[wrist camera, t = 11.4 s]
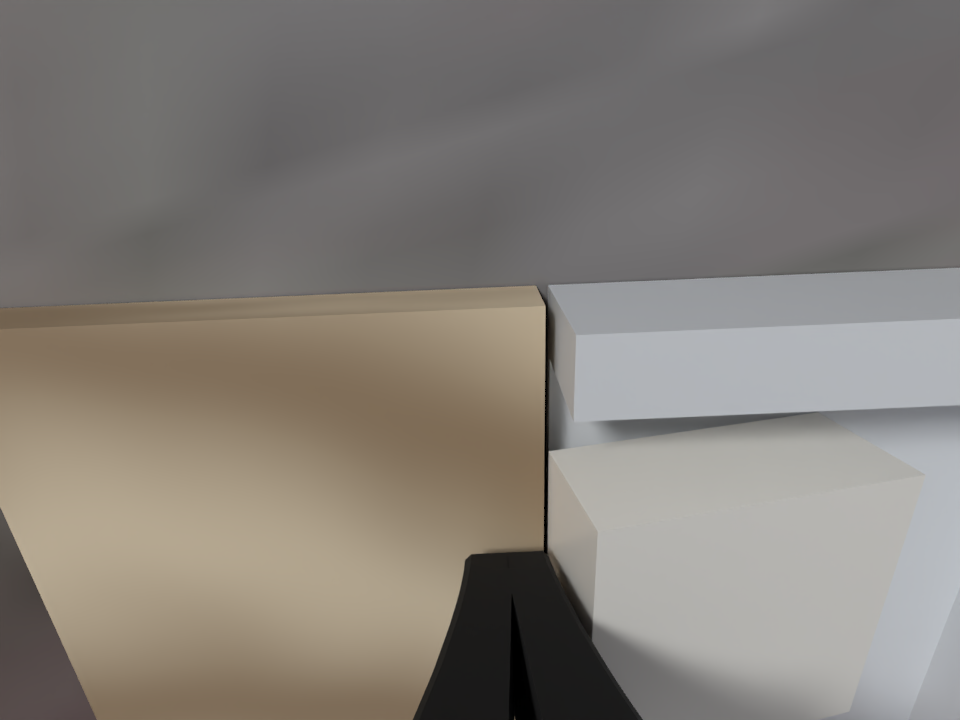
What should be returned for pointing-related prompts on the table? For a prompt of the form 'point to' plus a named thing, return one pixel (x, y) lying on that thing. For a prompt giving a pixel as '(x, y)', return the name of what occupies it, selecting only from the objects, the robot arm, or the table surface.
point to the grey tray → (794, 414)
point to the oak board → (268, 489)
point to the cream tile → (731, 563)
